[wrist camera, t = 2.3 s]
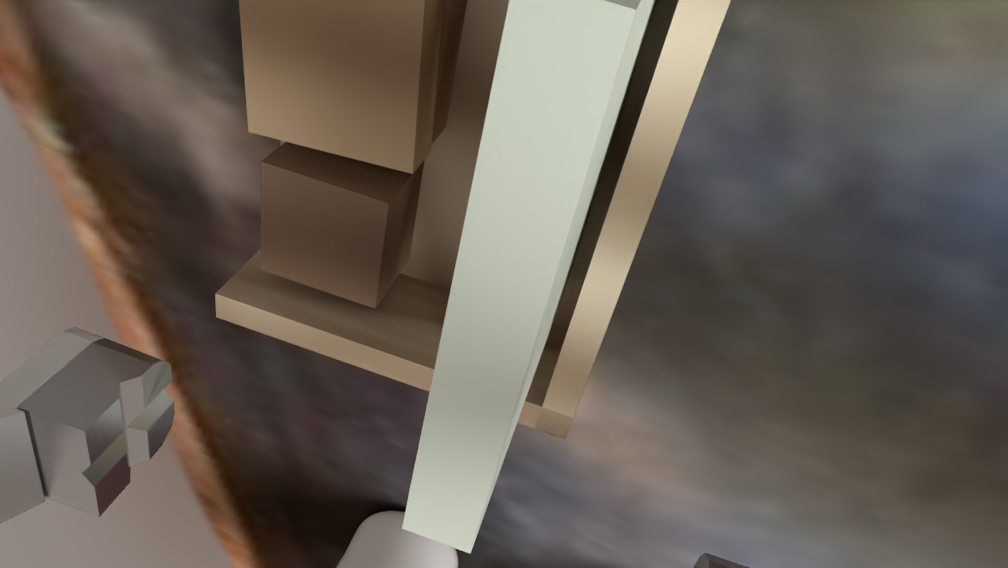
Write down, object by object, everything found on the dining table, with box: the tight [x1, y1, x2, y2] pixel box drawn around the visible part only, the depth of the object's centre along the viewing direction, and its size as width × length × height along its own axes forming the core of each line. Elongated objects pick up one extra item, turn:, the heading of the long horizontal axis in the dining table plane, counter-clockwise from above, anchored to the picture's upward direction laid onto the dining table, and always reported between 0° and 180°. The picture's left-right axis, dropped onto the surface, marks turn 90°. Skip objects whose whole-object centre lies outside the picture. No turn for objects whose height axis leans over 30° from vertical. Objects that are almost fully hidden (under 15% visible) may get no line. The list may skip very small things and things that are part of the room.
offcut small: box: [260, 142, 425, 309], centre depth 25 cm, size 4×4×3 cm
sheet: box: [402, 0, 658, 553], centre depth 18 cm, size 12×2×11 cm, turn 168°
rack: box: [215, 0, 731, 439], centre depth 21 cm, size 18×12×5 cm, turn 168°
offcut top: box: [239, 0, 444, 174], centre depth 20 cm, size 8×5×2 cm, turn 172°
